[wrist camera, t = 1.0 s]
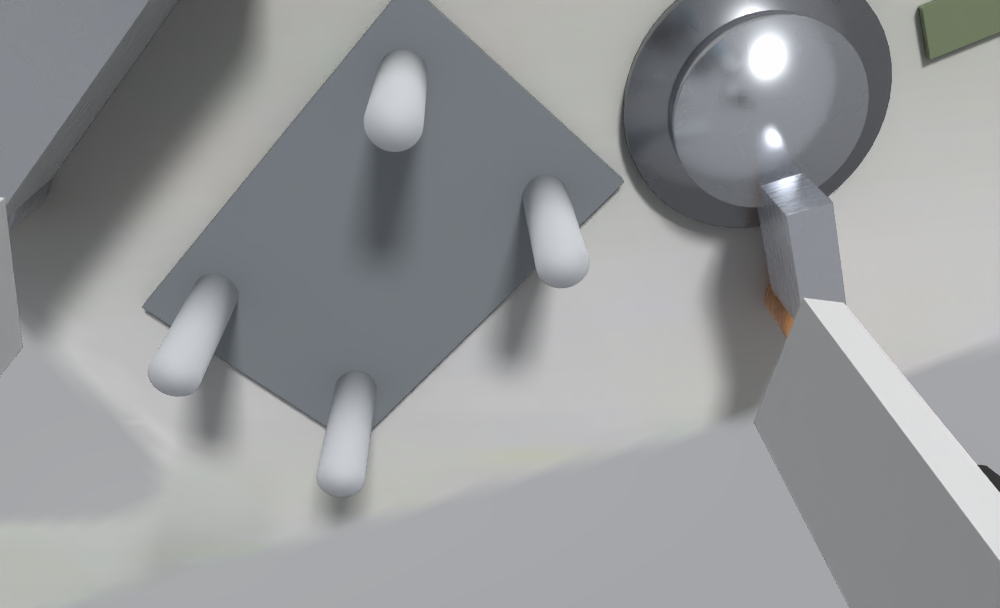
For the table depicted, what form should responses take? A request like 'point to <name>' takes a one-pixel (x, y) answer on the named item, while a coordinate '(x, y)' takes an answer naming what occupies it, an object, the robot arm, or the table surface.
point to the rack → (380, 233)
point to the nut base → (712, 3)
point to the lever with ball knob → (774, 139)
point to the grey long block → (60, 82)
